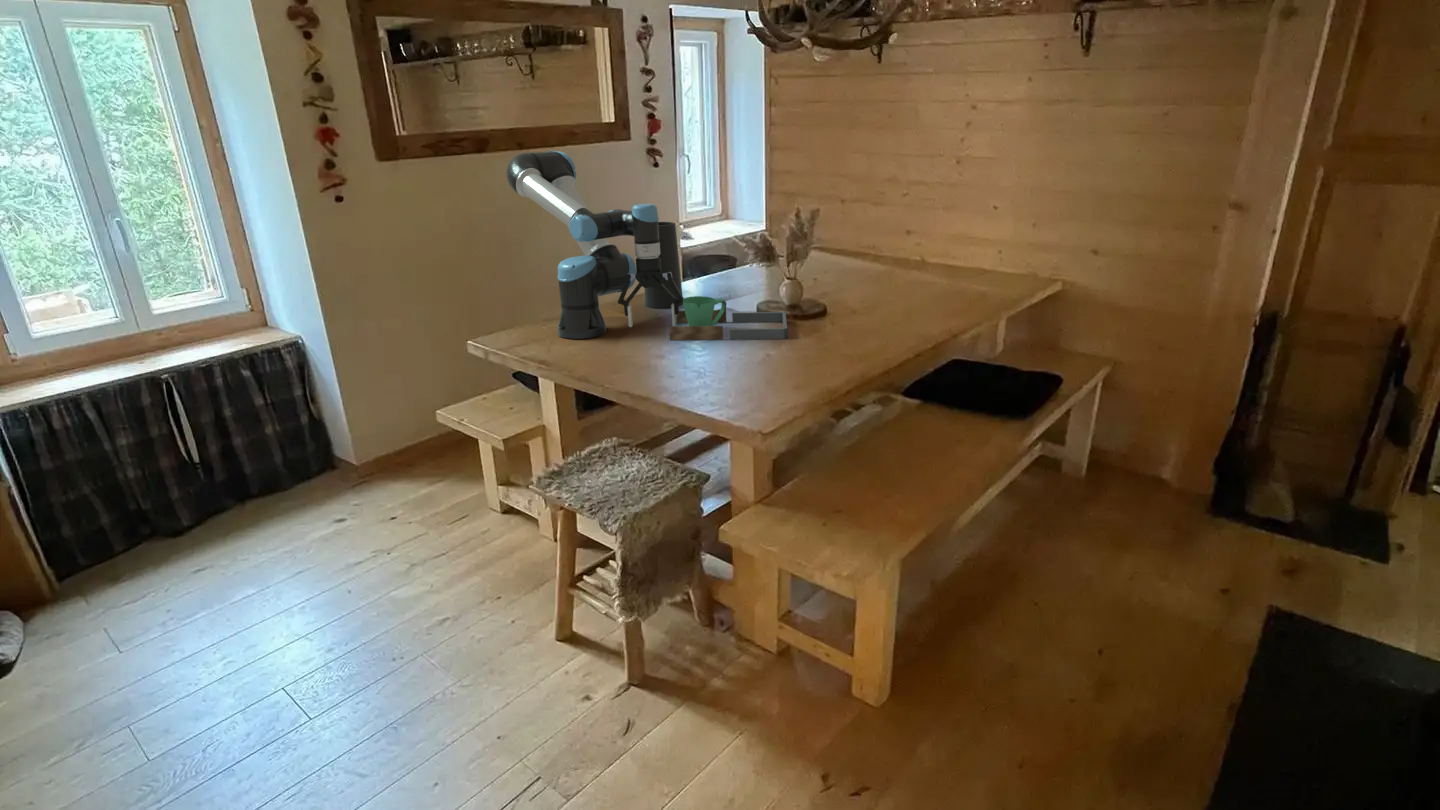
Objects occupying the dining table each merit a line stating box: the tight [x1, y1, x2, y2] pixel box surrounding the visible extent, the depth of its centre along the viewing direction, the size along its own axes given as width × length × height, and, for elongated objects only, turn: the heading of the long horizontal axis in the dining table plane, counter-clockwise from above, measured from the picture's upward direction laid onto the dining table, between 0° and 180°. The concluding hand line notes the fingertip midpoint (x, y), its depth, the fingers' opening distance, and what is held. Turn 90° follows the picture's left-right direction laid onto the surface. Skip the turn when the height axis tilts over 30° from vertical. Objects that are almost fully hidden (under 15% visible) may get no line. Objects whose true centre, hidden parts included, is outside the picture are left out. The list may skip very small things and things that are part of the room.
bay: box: [668, 309, 727, 341], centre depth 246 cm, size 16×22×4 cm
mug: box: [682, 295, 727, 326], centre depth 245 cm, size 15×10×10 cm
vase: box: [644, 221, 684, 310], centre depth 275 cm, size 14×14×29 cm
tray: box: [729, 311, 788, 341], centre depth 245 cm, size 17×22×3 cm
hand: (652, 325), depth 247 cm, fingers open, 13 cm apart
